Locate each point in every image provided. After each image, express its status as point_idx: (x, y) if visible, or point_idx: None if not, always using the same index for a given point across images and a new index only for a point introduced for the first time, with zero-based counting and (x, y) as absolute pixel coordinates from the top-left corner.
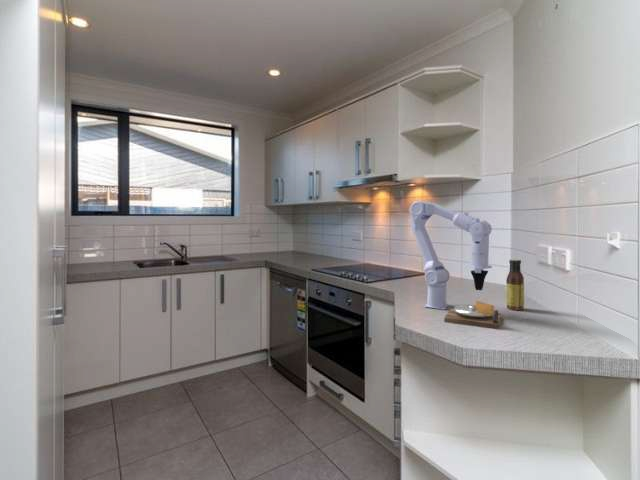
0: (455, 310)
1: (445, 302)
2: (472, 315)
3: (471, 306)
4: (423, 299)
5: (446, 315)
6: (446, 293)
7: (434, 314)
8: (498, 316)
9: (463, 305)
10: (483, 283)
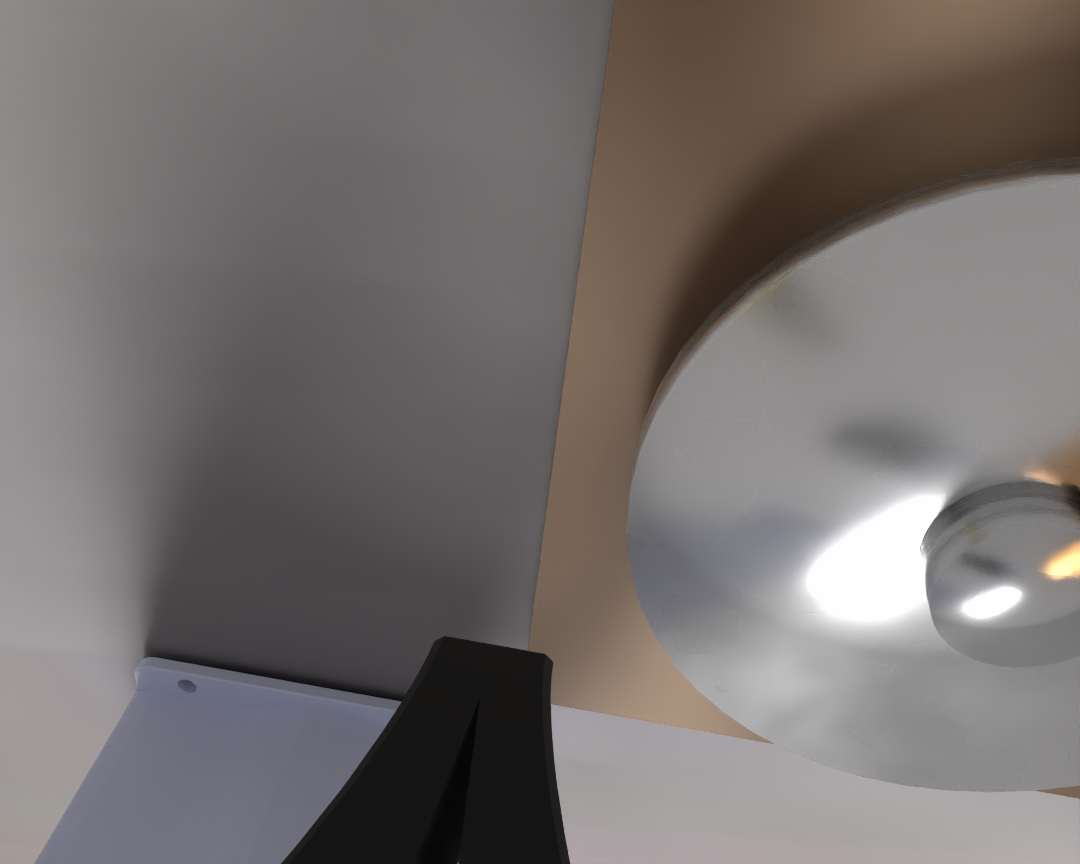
0: (1075, 773)
1: (330, 767)
2: None
3: (1065, 637)
4: (30, 849)
5: (1070, 791)
6: (70, 831)
7: (787, 819)
8: (979, 7)
9: (689, 656)
10: (511, 831)
